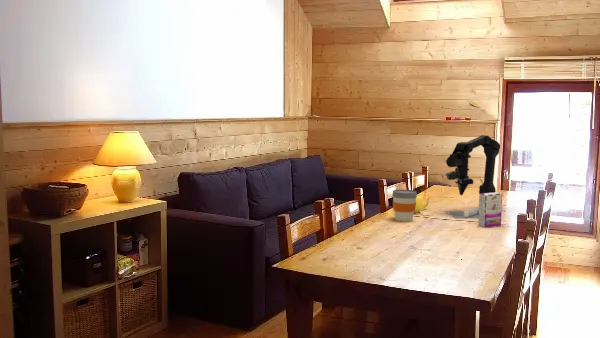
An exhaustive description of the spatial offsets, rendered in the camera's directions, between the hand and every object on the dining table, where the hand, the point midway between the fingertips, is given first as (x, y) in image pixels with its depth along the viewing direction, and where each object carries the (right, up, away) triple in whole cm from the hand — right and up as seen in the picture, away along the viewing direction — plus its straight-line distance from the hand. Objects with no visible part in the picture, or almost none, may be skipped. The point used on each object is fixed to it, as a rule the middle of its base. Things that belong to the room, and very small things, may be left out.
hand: (461, 195), depth 310 cm
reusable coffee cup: (-32, -13, -9) cm, 36 cm away
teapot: (-22, -10, +14) cm, 28 cm away
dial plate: (+3, -12, -1) cm, 12 cm away
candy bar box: (+8, -15, -21) cm, 27 cm away
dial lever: (+6, -10, -2) cm, 12 cm away
